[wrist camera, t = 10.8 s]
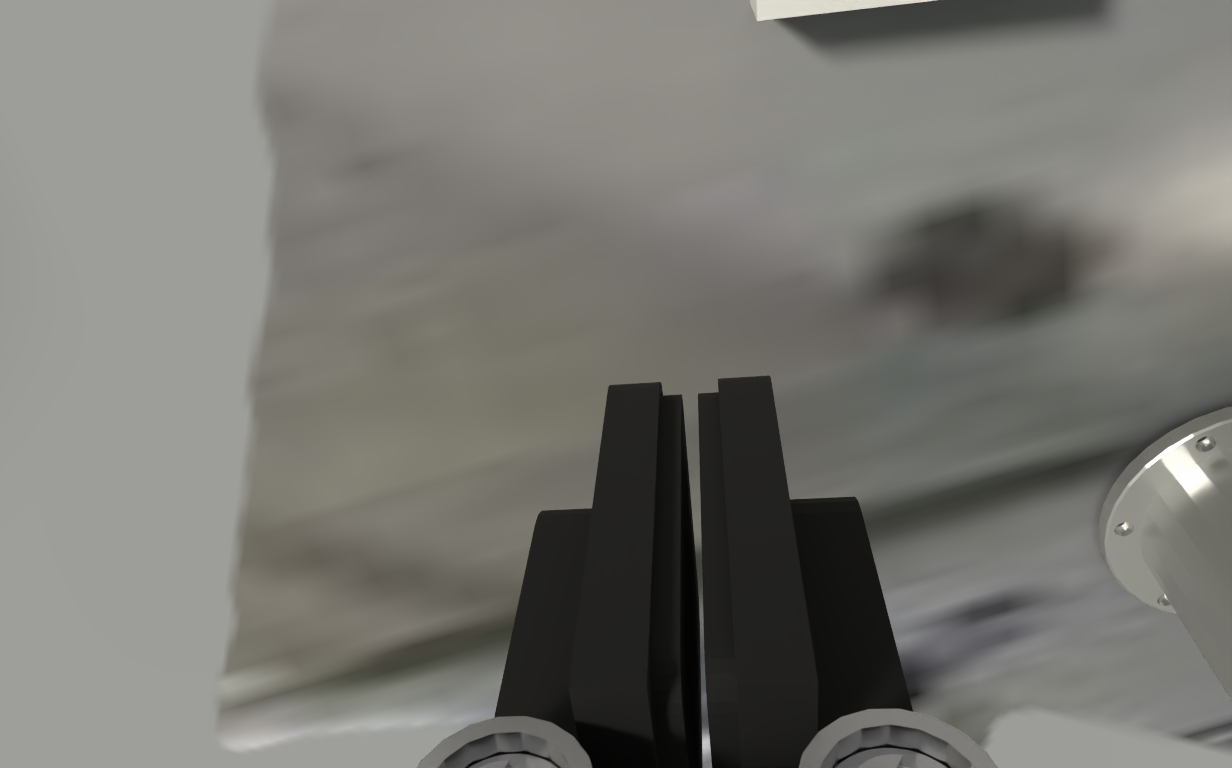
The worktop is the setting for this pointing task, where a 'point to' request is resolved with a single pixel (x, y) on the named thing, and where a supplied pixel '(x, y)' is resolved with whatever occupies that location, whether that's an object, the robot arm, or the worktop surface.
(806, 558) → the robot arm
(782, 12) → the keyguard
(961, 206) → the worktop surface
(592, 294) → the worktop surface
